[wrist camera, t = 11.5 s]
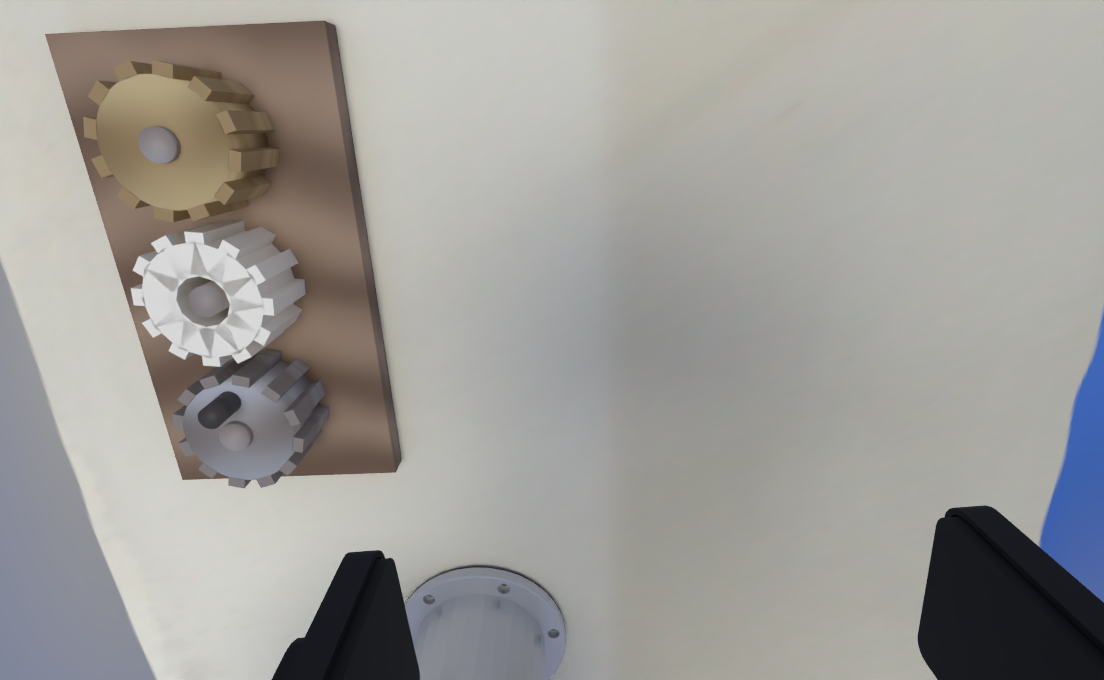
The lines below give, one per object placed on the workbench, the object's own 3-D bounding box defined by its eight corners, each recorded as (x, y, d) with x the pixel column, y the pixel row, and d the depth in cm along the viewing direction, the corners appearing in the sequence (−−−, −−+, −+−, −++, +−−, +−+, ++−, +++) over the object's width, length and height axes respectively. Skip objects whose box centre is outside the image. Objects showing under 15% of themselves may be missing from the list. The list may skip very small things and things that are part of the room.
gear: (292, 355, 35) (261, 383, 31) (172, 318, 34) (125, 341, 30) (316, 244, 32) (284, 260, 29) (187, 201, 32) (138, 211, 28)
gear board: (401, 459, 39) (368, 533, 32) (196, 467, 39) (117, 541, 32) (335, 25, 30) (268, -5, 23) (68, 38, 30) (-79, 11, 23)
